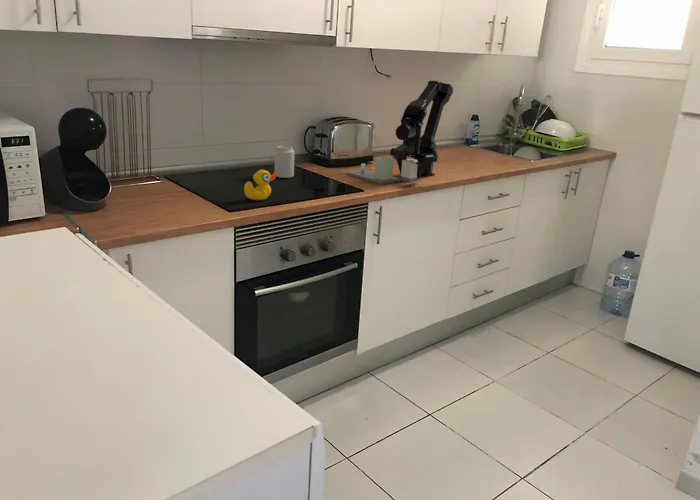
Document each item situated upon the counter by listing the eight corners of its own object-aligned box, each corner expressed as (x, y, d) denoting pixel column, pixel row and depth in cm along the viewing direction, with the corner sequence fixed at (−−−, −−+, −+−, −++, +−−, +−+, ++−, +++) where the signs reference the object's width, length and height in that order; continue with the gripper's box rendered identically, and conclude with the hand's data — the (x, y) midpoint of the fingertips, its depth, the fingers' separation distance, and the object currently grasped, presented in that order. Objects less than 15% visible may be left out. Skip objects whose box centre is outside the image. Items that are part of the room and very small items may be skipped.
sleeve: (408, 178, 238) (410, 158, 235) (418, 180, 235) (420, 161, 232) (400, 179, 235) (402, 160, 232) (409, 182, 231) (411, 162, 229)
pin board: (365, 171, 246) (366, 150, 243) (399, 181, 233) (401, 158, 229) (346, 174, 239) (347, 152, 236) (380, 184, 225) (382, 161, 222)
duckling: (271, 196, 200) (272, 167, 197) (279, 199, 196) (279, 170, 193) (241, 199, 194) (241, 169, 190) (248, 203, 190) (248, 173, 186)
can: (290, 180, 224) (291, 149, 220) (271, 178, 225) (272, 147, 221) (296, 176, 231) (296, 145, 227) (278, 174, 232) (278, 144, 228)
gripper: (382, 135, 230) (379, 173, 235) (417, 142, 217) (413, 183, 223) (401, 133, 237) (398, 171, 243) (436, 140, 225) (432, 180, 230)
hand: (409, 176), depth 234 cm, fingers open, 9 cm apart
